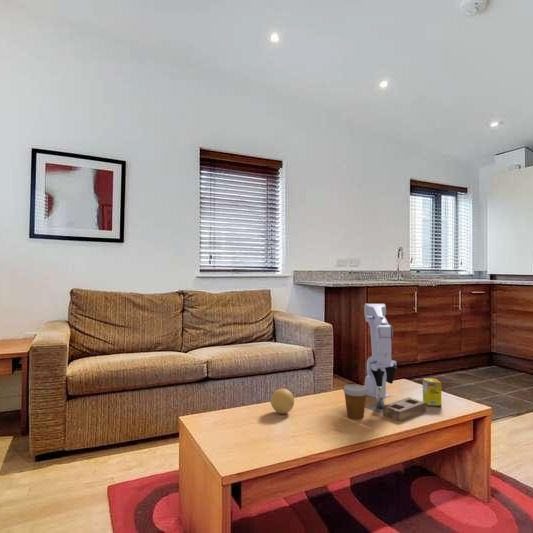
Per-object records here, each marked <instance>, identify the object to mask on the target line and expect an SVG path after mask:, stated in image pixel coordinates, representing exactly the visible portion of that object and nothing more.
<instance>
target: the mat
mask: <svg viewBox="0 0 533 533" xmlns="http://www.w3.org/2000/svg"><path fill="white" fill-rule="evenodd" d="M385 405H386V404H385V403H384V406H385ZM364 409H367V410H370V411H374V412H376V413H379V414H381V415H383V409H378V408H377V405H376V403H375V404H372V405H369V406H365V408H364Z"/></svg>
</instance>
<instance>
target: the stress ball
mask: <svg viewBox="0 0 533 533" xmlns="http://www.w3.org/2000/svg"><path fill="white" fill-rule="evenodd" d="M270 405H271V407H272V408H273V410H274V411H275V412H276V413H278V414H280V415H286V414H287V413H289V412H291V410H293V408H294V405H295V397H294V395H293V393H292V392H291V391H290V390H289V389H287V388H278V389H276V390H274V391H273V393H272V394H271V398H270Z"/></svg>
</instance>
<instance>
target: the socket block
mask: <svg viewBox="0 0 533 533" xmlns="http://www.w3.org/2000/svg"><path fill="white" fill-rule="evenodd" d="M425 412H427V405H426V402H423V400H420V399H416V398H413V397H405V398H402V399H399V400H397V401H393V402H391V403H389V404H385V406H383V414H382V416H384V417H387V418H390V419H392V420H395V421H398V422H403V421H404V420H407V419H411V418H413V417H415V416H418V415H420V414H422V413H425Z"/></svg>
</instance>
